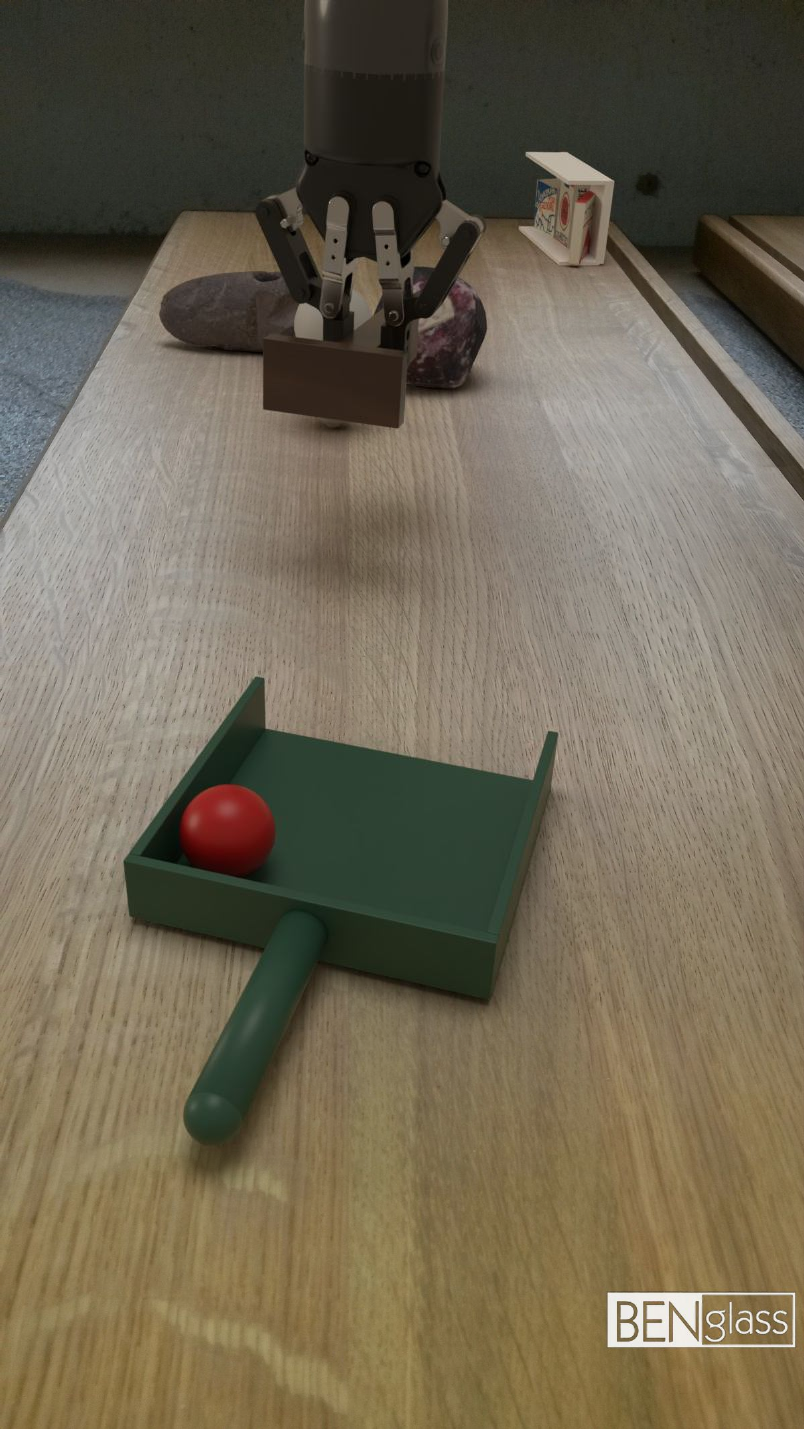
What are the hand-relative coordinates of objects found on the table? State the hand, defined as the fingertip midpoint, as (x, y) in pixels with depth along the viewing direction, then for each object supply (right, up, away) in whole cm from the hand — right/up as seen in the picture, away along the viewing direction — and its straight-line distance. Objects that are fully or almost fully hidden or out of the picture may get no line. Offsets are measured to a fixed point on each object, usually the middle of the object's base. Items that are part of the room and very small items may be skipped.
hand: (365, 378), depth 74 cm
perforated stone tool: (-13, +13, +39) cm, 43 cm away
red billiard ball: (-5, -25, -23) cm, 35 cm away
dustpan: (-1, -29, -24) cm, 38 cm away
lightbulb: (-3, +2, +23) cm, 24 cm away
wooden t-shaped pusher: (0, 0, +1) cm, 1 cm away
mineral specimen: (+4, +9, +34) cm, 35 cm away
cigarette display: (+22, +38, +78) cm, 89 cm away
